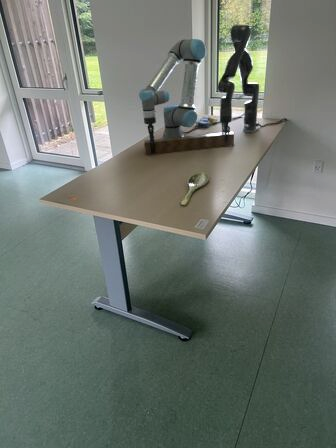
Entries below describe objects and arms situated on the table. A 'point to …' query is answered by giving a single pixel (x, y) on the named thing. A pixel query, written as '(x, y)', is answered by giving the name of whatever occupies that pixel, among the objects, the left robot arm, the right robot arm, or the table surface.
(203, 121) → the spray gun
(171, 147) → the block
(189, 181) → the spoon
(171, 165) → the table surface
